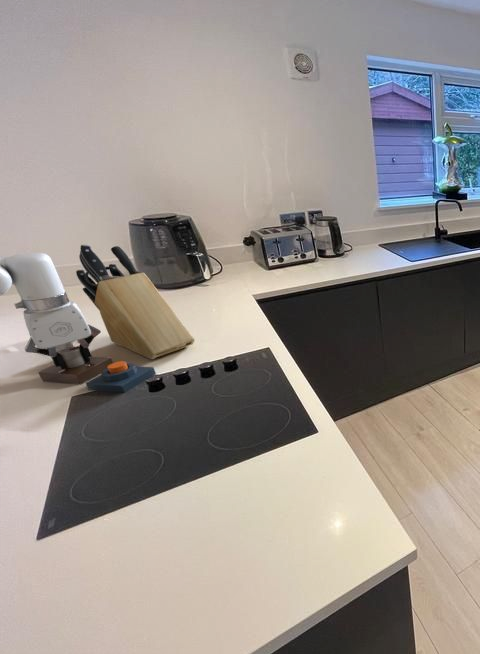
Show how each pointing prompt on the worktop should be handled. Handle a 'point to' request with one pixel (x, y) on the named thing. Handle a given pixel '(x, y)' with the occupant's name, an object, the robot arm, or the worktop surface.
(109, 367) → the orange push button
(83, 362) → the dial
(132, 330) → the knife block
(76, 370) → the dial panel
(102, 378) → the push button base
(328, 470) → the worktop surface
